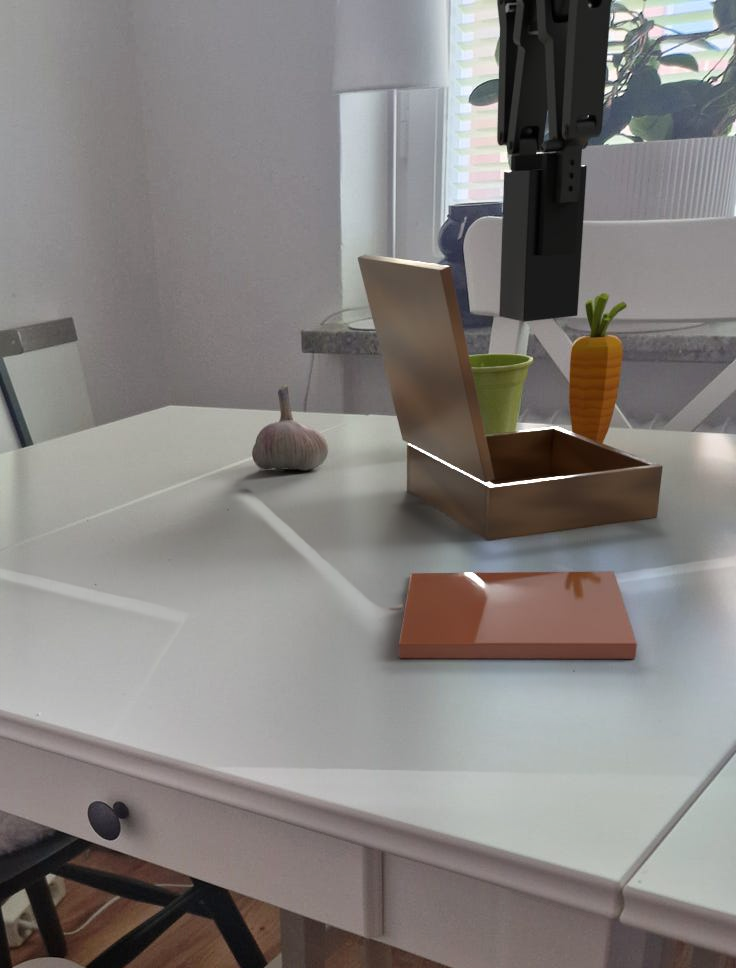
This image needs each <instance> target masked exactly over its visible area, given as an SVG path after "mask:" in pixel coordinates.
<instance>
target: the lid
mask: <svg viewBox="0 0 736 968" xmlns="http://www.w3.org/2000/svg"><path fill="white" fill-rule="evenodd" d="M357 262H358V266H359V271H360V274H361V277H362V282H363V286H364V290H365V295H366V299H367V302H368V306H369V310H370V313H371V314H370V315H371V318H372V323H373V327H374V330H375V334H376V338H377V342H378V348H379V351H380V355H381V358H382V359H381V360H382V363H383V366H384V370H385V374H386V379H387V383H388V387H389V391H390V394H391V399H392V403H393V406H394V411H395V415H396V419H397V423H398V427H399V430H400V435H401V439H402V441H403V442H406V443H407V444H411V445H413V446H415V447H417V448H419V449H421V450H423V451H425V452H427V453H429V454H431V455H432V456H434V457H436V458H438V459H440V460H442V461H444V462H446V463H448V464H450V465H452V466H454V467H456V468H458V469H459V470H461V471H463V472H465V473H467V474H469V475H471V476H473V477H475V478H477V479H479V480H481V481H483V482H484V483H487V482H489V481H492V480H494V479H495V478H494V473H493V468H492V464H491V459H490V454H489V449H488V444H487V440H486V435H485V430H484V425H483V420H482V416H481V411H480V406H479V401H478V396H477V392H476V387H475V382H474V377H473V372H472V368H471V363H470V358H469V355H470V354H469V349H468V344H467V340H466V335H465V330H464V325H463V320H462V315H461V310H460V305H459V302H458V296H457V292H456V291H457V290H456V287H455V282H454V277H453V272H452V267H451V266H450V265H444V264H438V263H430V262H422V261H415V260H410V259H402V258H395V257H388V256H380V255H374V254H367V253H366V254H362V255H360V256H358V257H357Z"/></svg>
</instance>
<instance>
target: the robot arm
mask: <svg viewBox="0 0 736 968" xmlns="http://www.w3.org/2000/svg"><path fill="white" fill-rule="evenodd" d="M612 2H613V0H496V3H497V14H498V23H499V25H498V26H499V45H498V46H499V48H498V53H499V54H498V85H497V87H498V89H497V124H496V125H497V129H496V130H497V131H496V139H497V140H496V142H497V144H498V146H501V147H502V146H506V151H507V154H508V155H510V156H511V157H510V171H515V170H527V169H538V168H542V174H541V196H540V217H539V239H538V255H539V256H545V255H555V254H565V253H575V252H576V240H577V224H578V207H579V191H580V174H581V166H582V156H583V155H582V154H583V150H585V149H586V148H587V147H588V144H589V141H590V140H591V139H594V138H595V139H596V138H599V137H600V136H601V133H602V128H603V122H604V121H603V120H604V119H603V118H604V106H605V94H606V93H605V91H606V80H607V79H606V78H607V64H608V52H609V39H610V37H609V36H610V23H611V12H612V11H611V10H612ZM547 120H548V121H547ZM547 122H548V123H547ZM546 125H548V139H547V140H545V133H546Z"/></svg>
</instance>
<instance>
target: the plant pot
mask: <svg viewBox="0 0 736 968" xmlns="http://www.w3.org/2000/svg"><path fill="white" fill-rule="evenodd" d="M469 358H470V363H471V368H472V372H473V377H474V382H475V387H476V392H477V396H478V401H479V406H480V411H481V416H482V420H483V425H484V430H485V435H488V434H497V433H505V432H514V431H517V425H518V424H517V423H518V418H519V411H520V408H521V406H520V405H521V401H522V396H523V389H524V383H525V381H526V379H527V377H528V374H529V373H528V372H529V367H530V366H531V365H532V364H533V363H534V357H532V356H531V355H524V354H518V353H483V354H481V353H480V354H469Z"/></svg>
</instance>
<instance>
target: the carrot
mask: <svg viewBox="0 0 736 968" xmlns="http://www.w3.org/2000/svg"><path fill="white" fill-rule="evenodd" d="M609 298H610V294H608V293H607V292H601V293H600V294H599V295H597V296H596V297H595V298H594V300H593V299H592V298H591V299H589V300H587V301H586V302H585V304H584V305H585V313H586V317H587V321H588V325H589V328H590V334H586V335H582V336H579V337H578V338H576V339H575V340H574V341H573V342H572V344H571V347H570V356H569V373H568V375H569V377H568V378H569V379H568V403H569V415H570V425H571V432H573V433H576V434H578V435H581V436H584V437H586V438H589V439H592V440H594V441H597V442H600V443H602V444H604V442H605V439H606V437H607V434H608V432H609V430H610V426H611V423H612V419H613V416H614V411H615V406H616V404H617V400H618V399H617V398H618V394H619V388H620V387H619V385H620V381H621V380H620V379H621V371H622V365H623V364H622V362H623V355H624V353H623V352H624V351H623V349H624V348H623V344H622V340H621V339H619V337H618V336H615V335H612V334H606V332H607V330H608V327H609V326H610V324H611V322H612V321H613V319H614V318H615V317H616V316H617V314H619V313H620V312H621V311H623V310H624V309H626V308H627V303H626V302H624V301H621V302H618V304H616V305H614V306H613V307H612V308H611V310H610V311H609V312H604V311H605V309H606V306H607V304H608V301H609Z"/></svg>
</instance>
